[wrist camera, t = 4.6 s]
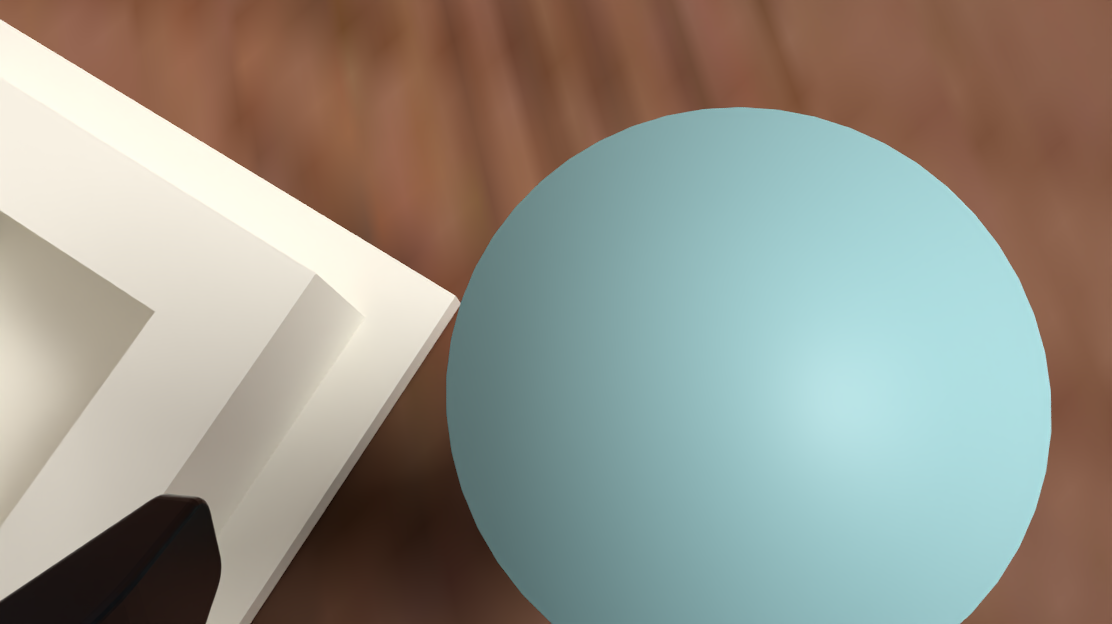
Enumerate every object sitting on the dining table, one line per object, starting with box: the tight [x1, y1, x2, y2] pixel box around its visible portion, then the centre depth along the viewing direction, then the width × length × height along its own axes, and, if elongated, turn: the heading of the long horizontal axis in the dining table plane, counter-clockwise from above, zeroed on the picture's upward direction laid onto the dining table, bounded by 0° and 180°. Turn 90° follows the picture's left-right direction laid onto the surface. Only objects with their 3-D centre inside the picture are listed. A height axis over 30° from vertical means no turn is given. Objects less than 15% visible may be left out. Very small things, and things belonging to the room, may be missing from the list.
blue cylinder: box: [446, 107, 1051, 624], centre depth 12 cm, size 4×4×12 cm
